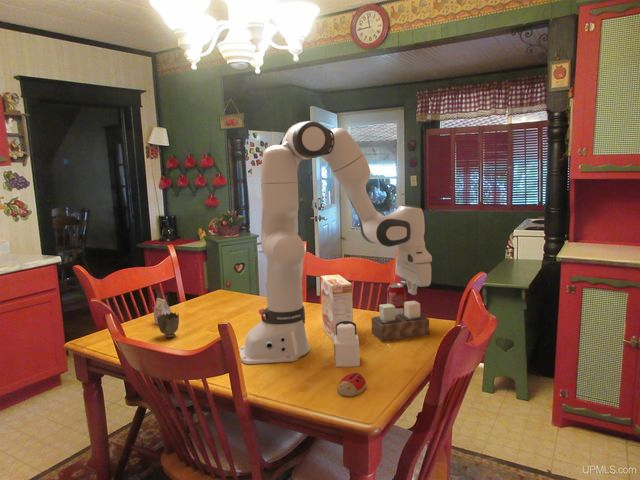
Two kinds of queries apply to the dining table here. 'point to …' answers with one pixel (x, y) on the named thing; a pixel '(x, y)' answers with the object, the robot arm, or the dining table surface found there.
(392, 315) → the peg near sage
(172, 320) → the cup
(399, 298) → the soda can
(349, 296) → the coffeecake box
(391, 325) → the walnut block
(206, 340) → the dining table surface
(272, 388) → the dining table surface
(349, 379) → the ladybug figurine
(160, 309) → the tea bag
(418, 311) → the peg far cream
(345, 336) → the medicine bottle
